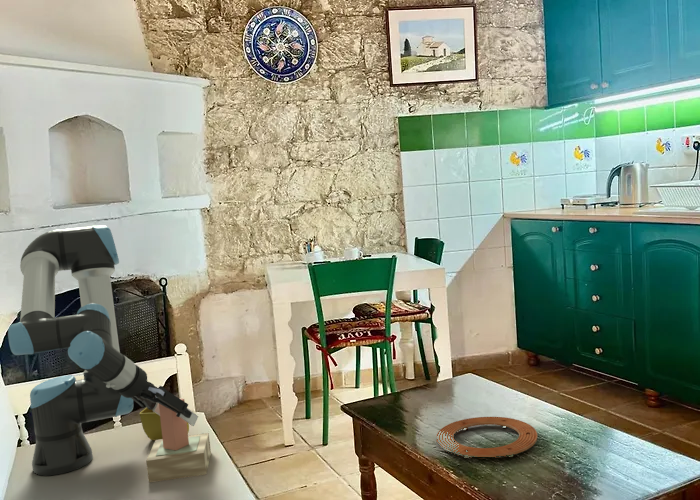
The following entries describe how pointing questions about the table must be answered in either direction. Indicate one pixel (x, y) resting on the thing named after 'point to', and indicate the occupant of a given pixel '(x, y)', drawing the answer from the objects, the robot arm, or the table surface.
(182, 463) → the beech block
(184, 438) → the pink knobbed block
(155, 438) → the flower pot
